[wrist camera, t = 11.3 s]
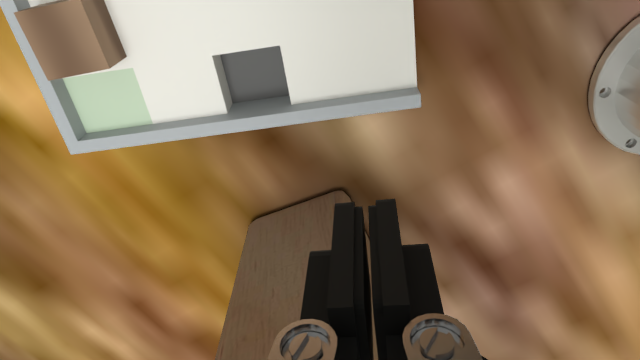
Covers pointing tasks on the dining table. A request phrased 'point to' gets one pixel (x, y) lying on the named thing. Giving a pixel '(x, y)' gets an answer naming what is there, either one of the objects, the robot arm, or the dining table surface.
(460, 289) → the dining table surface
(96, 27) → the walnut block
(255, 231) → the block
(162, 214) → the dining table surface
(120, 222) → the dining table surface
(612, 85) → the robot arm
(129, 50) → the trap box
